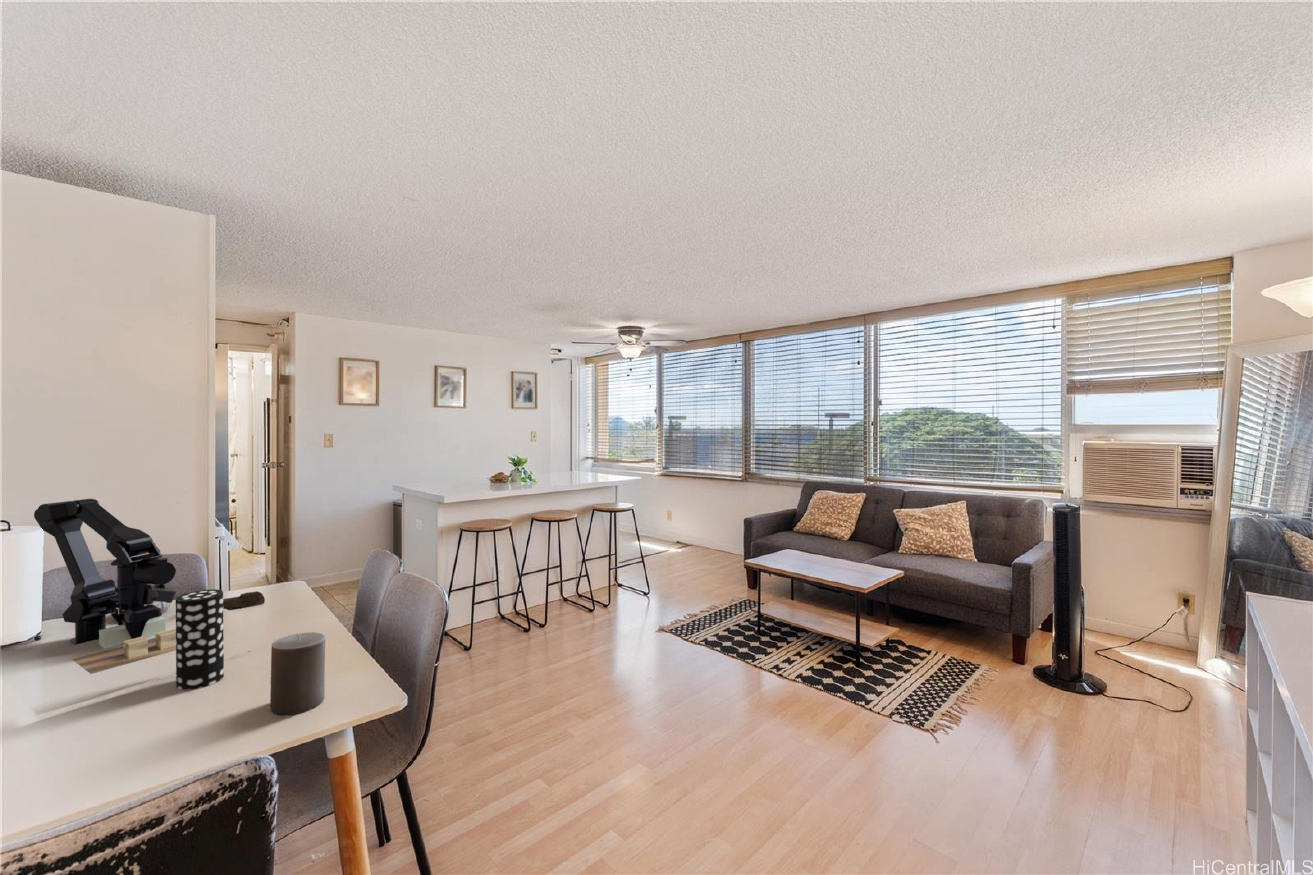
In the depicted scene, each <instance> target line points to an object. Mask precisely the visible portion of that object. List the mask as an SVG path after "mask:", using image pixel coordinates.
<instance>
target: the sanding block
mask: <svg viewBox="0 0 1313 875" xmlns="http://www.w3.org/2000/svg"><path fill="white" fill-rule="evenodd" d="M166 622H167V620H166V618H165V617H163V616H162V615H161V616H160V617H157V618H152V619H150V620H148V621H147V622H146V625H145V627H144V630H143V633H142V636H141V637H144V638H146V639H148V638H149V639H150V638H152V637H153V638H154V637H156V634H155V633H158V632H162V631H166V630H167V629H166V628H167V625H166ZM127 640H131V637H130V635H129V633H128V632H127V630H126V628H125V626H124V624H123V625H115V626H112V627H111V626H110V627H106V629H101V630H99V639H98V641H99V642H98V644H99V645H98V646H100V647H101V648H102V649H108V648H114V647H117V646H122V645H124V641H127Z"/></svg>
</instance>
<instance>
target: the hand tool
mask: <svg viewBox="0 0 1313 875" xmlns="http://www.w3.org/2000/svg"><path fill="white" fill-rule="evenodd" d="M265 600H266V599H265V596H264V594H263V593H262V592H260V591H257V590H255V591H252V592H251V591H250V592H249V591H248V592H244V593H241V594H240V595H239V596H233V597H229V598H223V610H228V609H229V610H230V609H234V608H241V609H245V608H250V607H251V608H252V607H256V606H260V605H263V604H265Z"/></svg>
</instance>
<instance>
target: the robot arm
mask: <svg viewBox="0 0 1313 875" xmlns="http://www.w3.org/2000/svg"><path fill="white" fill-rule="evenodd" d="M33 518H34V519H35V521H36V522H37V524H38V525H39V528H40V529H41V528H42V529H43V530H42V529H41V530H42V531H43V532H45V533H47V534H49V535H50V536H53V537H54V539H55V542H56V544H57V546H58V549H59V551H60V553H61V557H62V558H63V561H64V563H65V566H66V568H67V571H68V572H69V575H70V577H71V580H72V583H73V585H74V587H73V589H72V592H71V594H70V599H69V600H70V605H69V606H68V607H67V608H66V610H65V611H64V612H63V613H62V618H63V622H65V623H71V624H74V632H75V633H74V637H73V638H70V640H69V641H70V642H71V643H72V644H74V645H75V646H77V645H81V644H85V643H89V642H93V641H96V640H98V641H99V630H101V629H106V628H107V623H106V622H107V621H106V620H107V618H106V616H107V615H108V614H110V613H112V614H110V615H111V617H112V618H113V619H114V621H115V622H116V624H117V626H119V625H123V624H124V626H125V628H126V630H127V632H128V633H129V635H130V637H131V639H135V638H139V637H141V636H142V633H143V630H144V627H145V625H146V622H147V621H148V620H150V619H152V618H157V617H160V616H161V617H162V614H161V609H160V608H158V607H157V606H154V605H152V604H153V601H158V602H166V603H171V604H172V603H173V600H174V598H175V596H176V594H177V590H175V589H172V588H168V587H166V585H167V584H168V583H170V582H171V581H172V580H173V579H174V578H175V576H176V572H177V570H176V568H175V565H174V564H173V563H171V562H168V558H167V557H163V555H162V553H161V550H160V549H159V547H158V546H157V545H156V543H155V542H154V540H153V538H152V537H151V535H149V534H148V533H146V532H145V531H143V530H141V529H138V528H134V527H129V526H127V525H125V524H124V523H123V522H122V521H120V520H119V519H118V518H116V517H115V516H114V515H113V514H111V513H110V512H109V511H108V510H107V509H105V508H104V507H103V506H102V505H100V502H99V501H98V500H97V499H96V498H83V499H74V500H67V501H66V500H65V501H59V502H48V503H42V504H41V505H39V506H38V508H37V509H35V510H34V514H33ZM83 523H84V524H86V525H87V526H88V527H89V528H91V529H92V530H93V531H94V532H95V533H96V534H98V535H99V536H100V537H102V538H103V539H104V540H105V541H106V549H107V551H109V553H110V554H111V555H112V556H113V557H114V558H115V560H113V561H111V563H110V565H111V566H115V567H116V566H117V567H116V569H117V570H116V571H117V572H116V575H117V577H116V578H117V579H116V580H117V582H116V583H115V580H113V579H111V578H110V579H105V578H103V577H101V575H100V572H99V571H98V570H99V569H98V567H97V566H96V565H97V564H96V563H95V561H94V559H93V556H92V553H91V551H90V549H89V547H88V544H87V542H86V539H85V537H84V534H83V533H82V531H81V530H82V529H81V528H82V525H83ZM116 584H117V585H116ZM152 585H153V586H152ZM148 604H150V605H148ZM144 605H145V606H144ZM114 612H115V613H114Z"/></svg>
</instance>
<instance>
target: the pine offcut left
mask: <svg viewBox="0 0 1313 875" xmlns="http://www.w3.org/2000/svg"><path fill="white" fill-rule="evenodd" d="M148 640H149V639H148V638H144V637H139V638H135V639H131V640H127V641H124V644H123V646H124V656H126V657H127V658H133V657H137V656H140V655H144V654H148Z"/></svg>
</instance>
